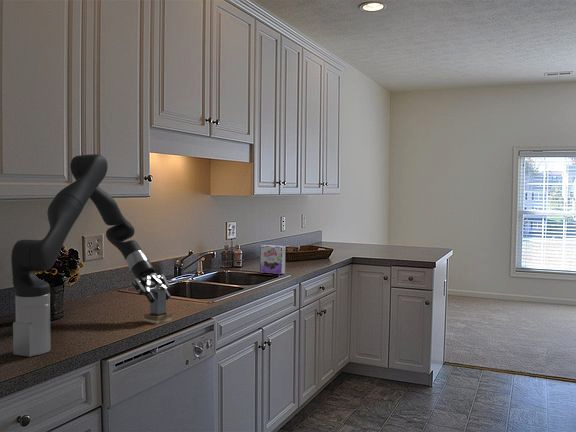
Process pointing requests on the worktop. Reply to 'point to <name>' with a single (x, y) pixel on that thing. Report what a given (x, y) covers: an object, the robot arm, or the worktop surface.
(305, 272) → the worktop surface
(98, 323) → the worktop surface
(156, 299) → the grey tall block
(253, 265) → the worktop surface
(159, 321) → the socket
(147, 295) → the robot arm
